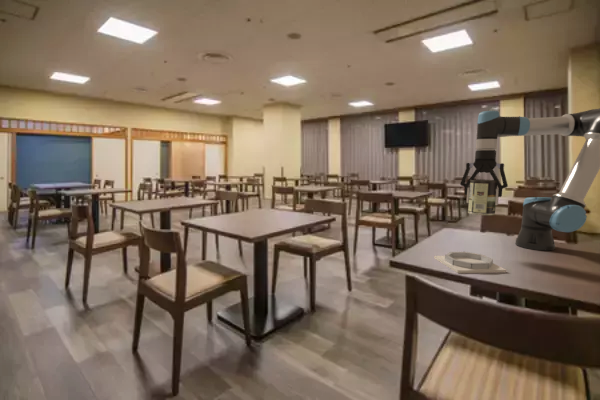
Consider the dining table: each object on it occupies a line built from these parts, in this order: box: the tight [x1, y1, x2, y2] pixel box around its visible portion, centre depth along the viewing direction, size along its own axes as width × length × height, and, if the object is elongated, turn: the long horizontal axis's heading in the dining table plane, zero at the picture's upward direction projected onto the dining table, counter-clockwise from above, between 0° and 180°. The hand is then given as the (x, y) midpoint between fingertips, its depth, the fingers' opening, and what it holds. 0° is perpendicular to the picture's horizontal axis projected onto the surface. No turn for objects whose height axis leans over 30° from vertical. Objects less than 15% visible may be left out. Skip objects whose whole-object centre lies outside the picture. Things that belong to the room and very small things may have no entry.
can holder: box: [433, 251, 507, 274], centre depth 131 cm, size 18×18×3 cm
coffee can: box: [467, 178, 498, 216], centre depth 144 cm, size 10×10×14 cm
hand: (482, 203), depth 144 cm, fingers closed on coffee can, 10 cm apart
